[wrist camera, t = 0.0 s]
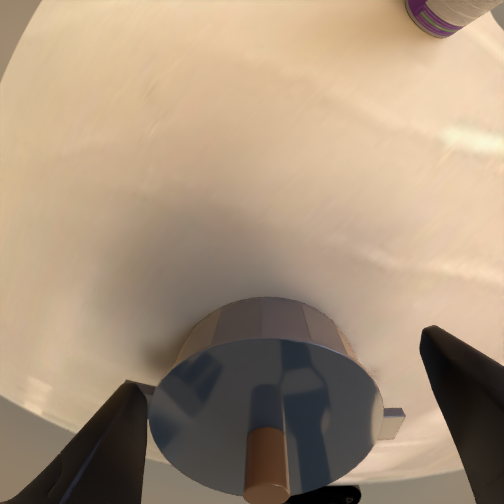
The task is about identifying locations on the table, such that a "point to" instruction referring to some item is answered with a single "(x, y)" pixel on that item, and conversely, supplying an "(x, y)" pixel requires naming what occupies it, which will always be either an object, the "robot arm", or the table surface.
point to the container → (447, 14)
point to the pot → (273, 322)
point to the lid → (266, 416)
